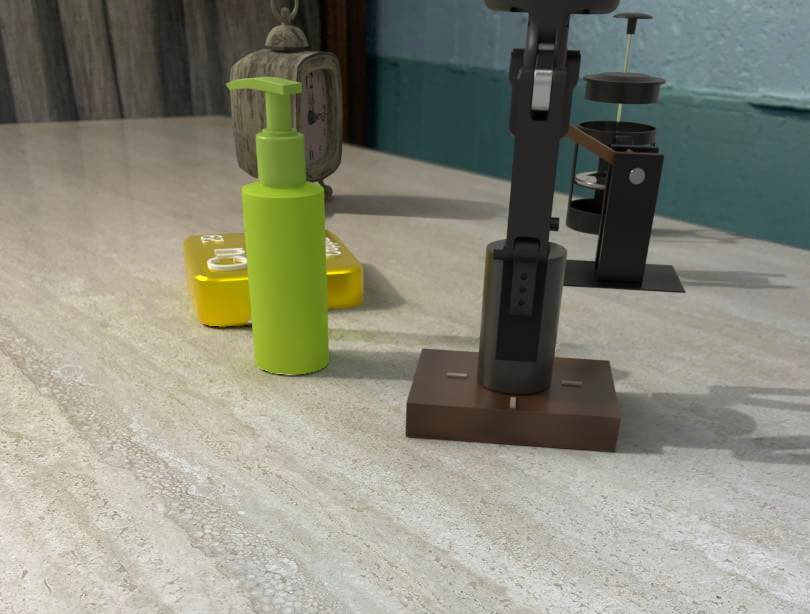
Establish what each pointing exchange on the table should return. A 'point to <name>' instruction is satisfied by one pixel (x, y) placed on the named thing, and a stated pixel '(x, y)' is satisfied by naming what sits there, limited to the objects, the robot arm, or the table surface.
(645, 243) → the bracket
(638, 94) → the french press
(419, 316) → the table surface
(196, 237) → the element tile
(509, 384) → the knob
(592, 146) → the lever
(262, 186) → the soap dispenser
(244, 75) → the tabletop clock
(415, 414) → the panel
